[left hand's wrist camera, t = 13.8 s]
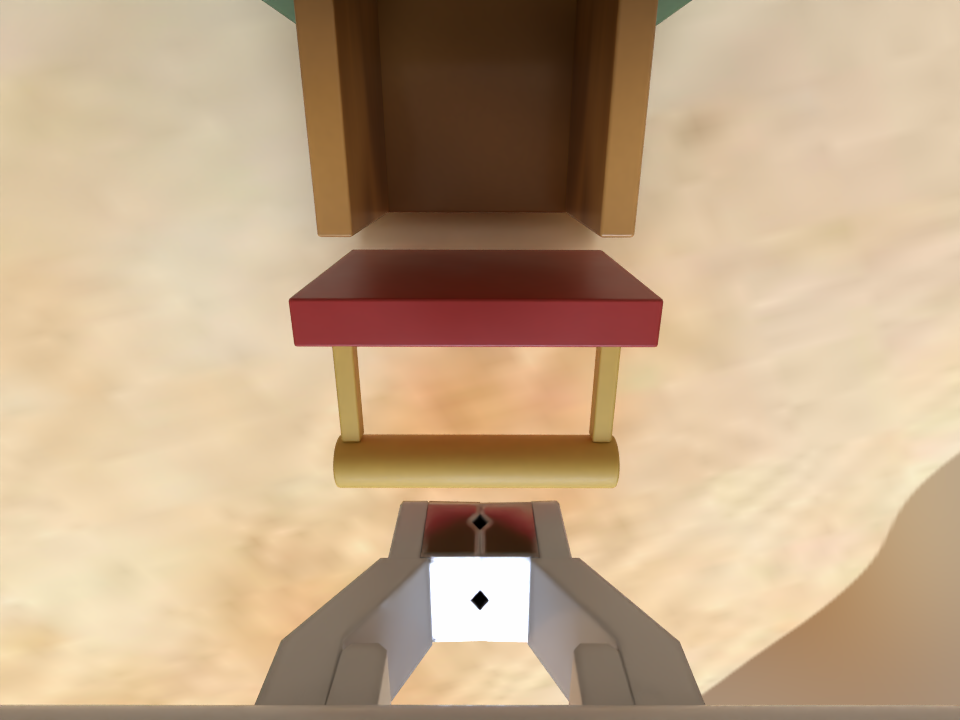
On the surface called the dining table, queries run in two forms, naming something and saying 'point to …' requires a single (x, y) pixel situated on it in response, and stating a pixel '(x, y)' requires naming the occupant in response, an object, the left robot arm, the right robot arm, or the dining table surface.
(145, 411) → the dining table surface
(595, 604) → the left robot arm
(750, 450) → the dining table surface
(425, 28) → the drawer
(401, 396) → the dining table surface
